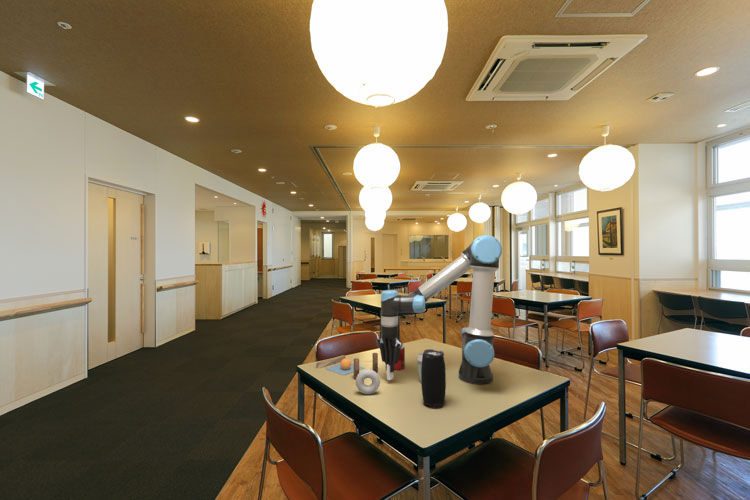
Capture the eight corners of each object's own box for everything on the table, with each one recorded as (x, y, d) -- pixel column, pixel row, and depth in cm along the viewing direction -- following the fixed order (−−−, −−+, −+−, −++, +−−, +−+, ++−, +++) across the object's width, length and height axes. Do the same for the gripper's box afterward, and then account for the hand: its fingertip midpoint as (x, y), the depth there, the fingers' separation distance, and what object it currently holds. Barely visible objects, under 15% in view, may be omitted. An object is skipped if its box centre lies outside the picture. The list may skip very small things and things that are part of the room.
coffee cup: (424, 377, 152) (424, 351, 152) (439, 382, 146) (439, 354, 146) (412, 382, 146) (412, 355, 146) (428, 387, 140) (428, 359, 140)
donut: (355, 396, 131) (355, 370, 132) (355, 392, 135) (355, 368, 135) (380, 395, 131) (380, 370, 132) (380, 392, 135) (379, 367, 135)
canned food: (405, 370, 161) (405, 348, 162) (389, 370, 162) (388, 348, 162) (404, 365, 169) (404, 344, 169) (388, 365, 169) (388, 344, 170)
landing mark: (364, 368, 166) (364, 367, 166) (343, 375, 155) (343, 374, 155) (346, 362, 175) (346, 362, 175) (325, 368, 165) (325, 368, 165)
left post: (360, 378, 150) (360, 359, 151) (356, 380, 149) (356, 360, 149) (356, 377, 152) (356, 358, 153) (352, 379, 150) (352, 359, 151)
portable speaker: (449, 403, 124) (449, 351, 125) (437, 412, 117) (436, 356, 118) (430, 397, 130) (429, 347, 130) (417, 405, 123) (416, 352, 123)
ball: (346, 368, 167) (354, 368, 163) (338, 371, 163) (346, 370, 159) (345, 357, 168) (352, 357, 164) (337, 359, 164) (344, 359, 160)
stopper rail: (345, 360, 179) (345, 355, 179) (318, 368, 166) (318, 363, 166) (342, 359, 180) (342, 355, 180) (316, 367, 167) (316, 362, 167)
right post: (379, 372, 160) (378, 353, 160) (375, 373, 158) (375, 354, 158) (375, 370, 161) (375, 352, 162) (371, 372, 159) (371, 353, 160)
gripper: (406, 326, 144) (407, 380, 143) (384, 322, 153) (384, 373, 152) (395, 328, 138) (396, 385, 138) (373, 324, 147) (373, 377, 146)
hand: (390, 379), depth 145 cm, fingers closed
